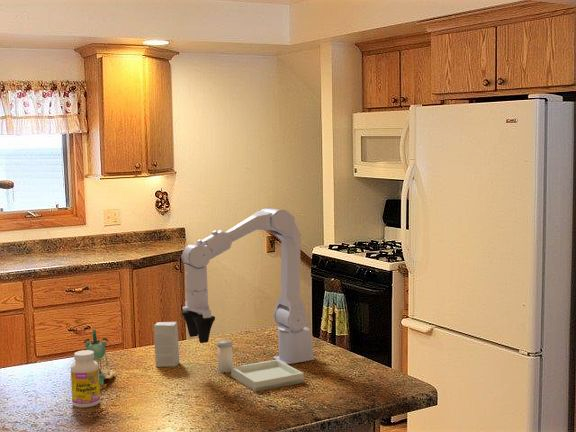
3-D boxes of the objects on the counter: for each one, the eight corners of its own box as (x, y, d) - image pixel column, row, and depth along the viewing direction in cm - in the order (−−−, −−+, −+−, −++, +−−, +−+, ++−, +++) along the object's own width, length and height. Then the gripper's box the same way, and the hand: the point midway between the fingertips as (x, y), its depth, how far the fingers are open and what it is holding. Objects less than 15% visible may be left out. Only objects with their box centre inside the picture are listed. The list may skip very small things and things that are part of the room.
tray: (277, 368, 218) (277, 359, 218) (303, 382, 205) (303, 373, 204) (231, 376, 212) (230, 367, 211) (255, 391, 198) (254, 382, 198)
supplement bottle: (72, 409, 189) (69, 357, 187) (72, 401, 195) (69, 350, 194) (101, 406, 190) (98, 354, 189) (99, 398, 197) (97, 347, 195)
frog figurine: (73, 392, 202) (70, 334, 202) (83, 378, 220) (80, 325, 220) (111, 389, 203) (108, 332, 203) (118, 376, 221) (115, 323, 221)
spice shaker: (229, 367, 220) (228, 339, 219) (235, 371, 216) (234, 342, 216) (215, 369, 218) (214, 341, 217) (221, 373, 214) (220, 344, 214)
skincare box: (179, 362, 226) (178, 321, 225) (176, 366, 222) (174, 325, 220) (159, 362, 227) (157, 321, 225) (155, 366, 222) (153, 325, 221)
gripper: (173, 286, 215) (175, 335, 216) (192, 295, 202) (194, 347, 203) (197, 284, 218) (199, 332, 220) (217, 292, 205) (219, 343, 207)
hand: (198, 339), depth 212 cm, fingers open, 7 cm apart
